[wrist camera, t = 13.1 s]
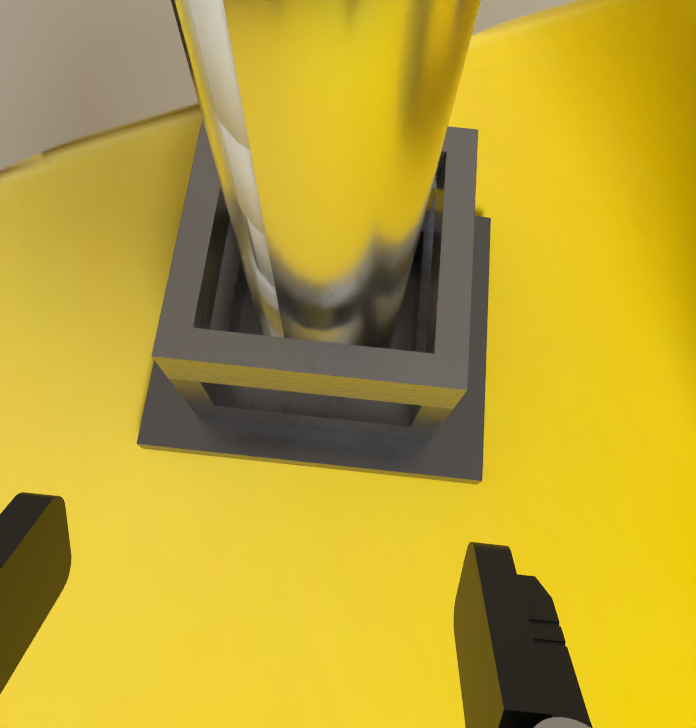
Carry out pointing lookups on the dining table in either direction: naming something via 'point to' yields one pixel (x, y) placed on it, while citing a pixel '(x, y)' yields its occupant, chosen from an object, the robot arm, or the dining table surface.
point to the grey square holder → (327, 350)
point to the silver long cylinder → (326, 147)
